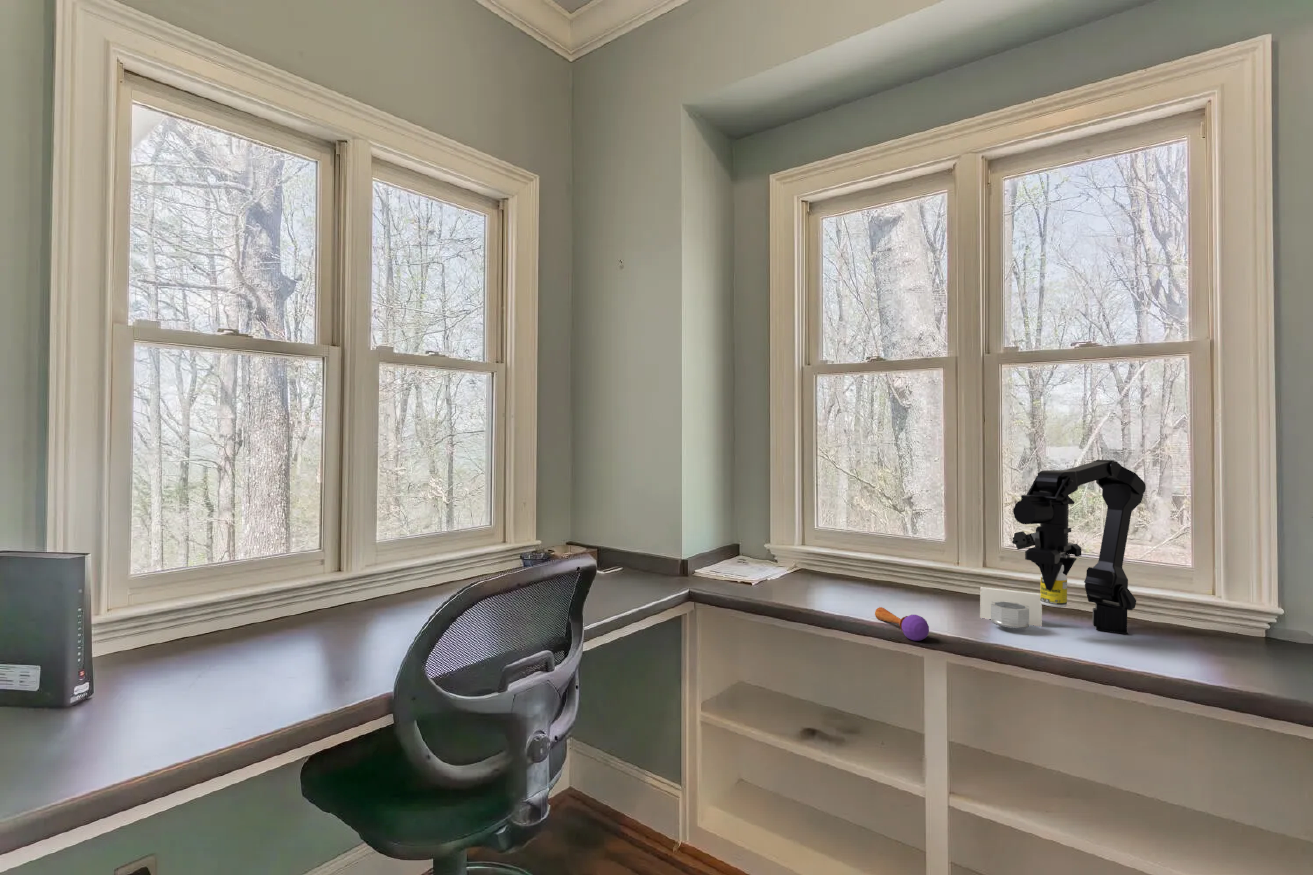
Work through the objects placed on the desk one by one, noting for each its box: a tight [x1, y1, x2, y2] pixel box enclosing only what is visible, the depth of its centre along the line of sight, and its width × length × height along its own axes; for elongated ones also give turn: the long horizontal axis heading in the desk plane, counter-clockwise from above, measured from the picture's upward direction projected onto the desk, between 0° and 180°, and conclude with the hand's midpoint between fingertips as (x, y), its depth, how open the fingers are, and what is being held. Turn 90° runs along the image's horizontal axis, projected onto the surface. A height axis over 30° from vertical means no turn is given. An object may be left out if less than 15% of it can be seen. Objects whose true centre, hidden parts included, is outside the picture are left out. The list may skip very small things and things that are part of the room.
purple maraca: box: [874, 606, 930, 642], centre depth 154 cm, size 6×6×20 cm
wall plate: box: [979, 586, 1043, 627], centre depth 163 cm, size 14×2×8 cm, turn 60°
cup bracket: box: [990, 601, 1030, 629], centre depth 157 cm, size 8×11×4 cm
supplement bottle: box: [1039, 565, 1068, 608], centre depth 149 cm, size 5×5×10 cm
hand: (1053, 587), depth 149 cm, fingers closed on supplement bottle, 5 cm apart
